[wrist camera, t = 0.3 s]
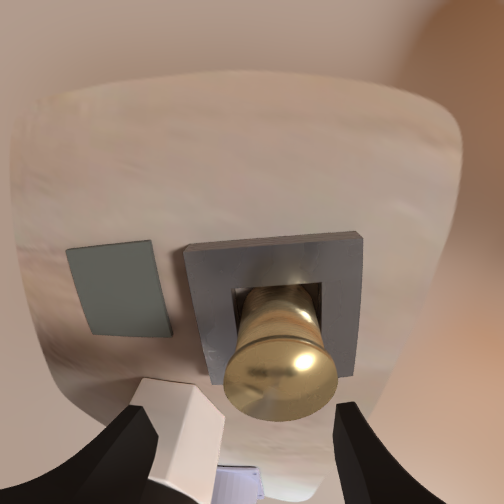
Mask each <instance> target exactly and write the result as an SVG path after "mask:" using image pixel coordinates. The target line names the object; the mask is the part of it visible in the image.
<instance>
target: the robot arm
mask: <svg viewBox="0 0 504 504" xmlns="http://www.w3.org/2000/svg"><path fill="white" fill-rule="evenodd" d="M158 439H159V436H158V434H157V432H156V430H155V428H154V427H153V425H152V423H151V421H150V419H149V417H148V415H147V413H146V411H145V410H144V408H143V406H137V405H129V406H127V407H126V408H125V409H124V410H123V411H122V412H121V413H120V414H119V415H118V416H117V417H116V418H115V419H114V420H113V421H112V422H111V423H110V424H109V425H108V426H107V427H106V428H105V429H104V430H103V431H102V432H101V433H100V434H99V435H98V436H97V437H96V438H94V439H93V440H92V441H91V442H90V443H89V444H87V445H86V446H85V447H84V448H83V449H82V450H80V451H79V452H78V453H77V454H75V455H74V456H73V457H71V458H70V459H69V460H67V461H66V462H64V463H63V464H61V465H60V466H58V467H56V468H55V469H53V470H51V471H49V472H47V473H45V474H44V475H42V476H40V477H38V478H35V479H33V480H31V481H28V482H25V483H23V484H20V485H17V486H13V487H9V488H5V489H0V504H139V503H140V499H141V496H142V493H143V491H144V488H145V485H146V482H147V479H148V476H149V474H150V471H151V468H152V465H153V462H154V459H155V455H156V450H157V445H158ZM333 444H334V453H335V460H336V465H337V469H338V474H339V478H340V482H341V487H342V491H343V496H344V500H345V504H446V503H445V502H443V501H442V500H441V499H439V498H438V497H436V496H435V495H434V494H432V493H431V492H430V491H428V490H427V489H426V488H425V487H423V486H422V485H421V484H420V483H419V482H418V481H416V480H415V479H414V478H413V477H412V476H411V475H410V474H409V473H408V472H407V471H406V470H405V469H404V468H403V467H402V466H401V465H400V464H399V463H398V462H397V460H396V459H395V458H394V457H393V456H392V455H391V454H390V453H389V451H388V450H387V449H386V447H385V446H384V445H383V443H382V442H381V441H380V440H379V438H378V437H377V436H376V434H375V433H374V431H373V430H372V429H371V427H370V426H369V424H368V423H367V421H366V420H365V418H364V416H363V415H362V413H361V411H360V410H359V408H358V406H357V404H356V403H355V402H346V403H340V404H336V413H335V421H334V429H333ZM257 499H264V492H263V487H262V482H261V478H260V473H259V469H258V468H241V467H217V470H216V476H215V482H214V488H213V494H212V500H211V504H257Z"/></svg>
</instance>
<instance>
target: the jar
mask: <svg viewBox="0 0 504 504" xmlns="http://www.w3.org/2000/svg"><path fill="white" fill-rule="evenodd" d="M129 405H137V406H143V408H144V410H145V411H146V413H147V415H148V417H149V419H150V421H151V423H152V425H153V427H154V428H155V430H156V432H157V434H158V436H159V439H158V445H157V450H156V455H155V459H154V462H153V465H152V468H151V471H150V474H149V476H148V479H147V482H146V485H145V488H144V491H143V493H142V496H141V499H140V503H139V504H211V500H212V494H213V488H214V482H215V476H216V470H217V464H218V458H219V452H220V447H221V441H222V435H223V429H224V423H225V416H224V415H223V414H222V413H221V412H220V411H219V410H218V409H217V408H216V407H215V406H214V405H213V404H212V403H211V402H210V401H209V399H208V398H207V397H206V396H205V395H204V394H203V393H202V392H201V391H200V390H199V389H198V387H197V386H196V385H193V384H185V383H177V382H170V381H163V380H156V379H150V378H142V380H141V382H140V384H139V386H138V388H137V390H136V392H135V393H134V395H133V397H132V399H131V401H130V403H129ZM129 405H128V406H129Z"/></svg>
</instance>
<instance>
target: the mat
mask: <svg viewBox="0 0 504 504" xmlns="http://www.w3.org/2000/svg"><path fill="white" fill-rule="evenodd" d="M66 254H67V258H68V262H69V265H70V269H71V272H72V276H73V279H74V282H75V286H76V289H77V292H78V295H79V298H80V301H81V304H82V307H83V310H84V313H85V316H86V318H87V321H88V324H89V326H90V329H91V332H92V334H94V335H110V336H131V337H172V335H173V332H172V329H171V325H170V321H169V317H168V314H167V310H166V306H165V302H164V298H163V293H162V289H161V285H160V281H159V276H158V272H157V267H156V262H155V258H154V253H153V248H152V243H151V240H144V241H134V242H125V243H115V244H106V245H97V246H88V247H80V248H71V249H67V250H66Z"/></svg>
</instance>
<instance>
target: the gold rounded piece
mask: <svg viewBox="0 0 504 504" xmlns="http://www.w3.org/2000/svg"><path fill="white" fill-rule="evenodd" d="M337 384H338V376H337V371H336V367H335V363H334V361H333V358H332V357H331V355H330V354H329V353H328V352H327V350H326V349H324V345H323V341H322V337H321V333H320V329H319V325H318V321H317V317H316V313H315V309H314V305H313V301H312V299H311V297H310V295H309V293H308V292H307V291H306V290H305V289H304V288H303V287H302V286H300V285H299V284H291V285H278V286H264V287H255V288H253V289H252V290H251V291H250V292H249V294H248V295H247V297H246V299H245V301H244V305H243V310H242V315H241V321H240V327H239V333H238V338H237V344H236V350H235V353H234V354H233V355H232V357H231V358H230V360H229V361H228V363H227V366H226V370H225V374H224V380H223V386H224V391H225V394H226V396H227V398H228V400H229V401H230V402H231V404H232V405H233V406H234V407H236V408H237V409H238V410H239V411H241V412H243V413H244V414H246V415H248V416H251V417H254V418H256V419H260V420H265V421H275V422H283V421H291V420H297V419H300V418H303V417H306V416H309V415H311V414H313V413H315V412H316V411H318V410H320V409H321V408H322V407H324V406H325V405H326V404H327V403H328V402H329V401H330V399H331V398H332V397H333V395H334V393H335V391H336V388H337Z"/></svg>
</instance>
